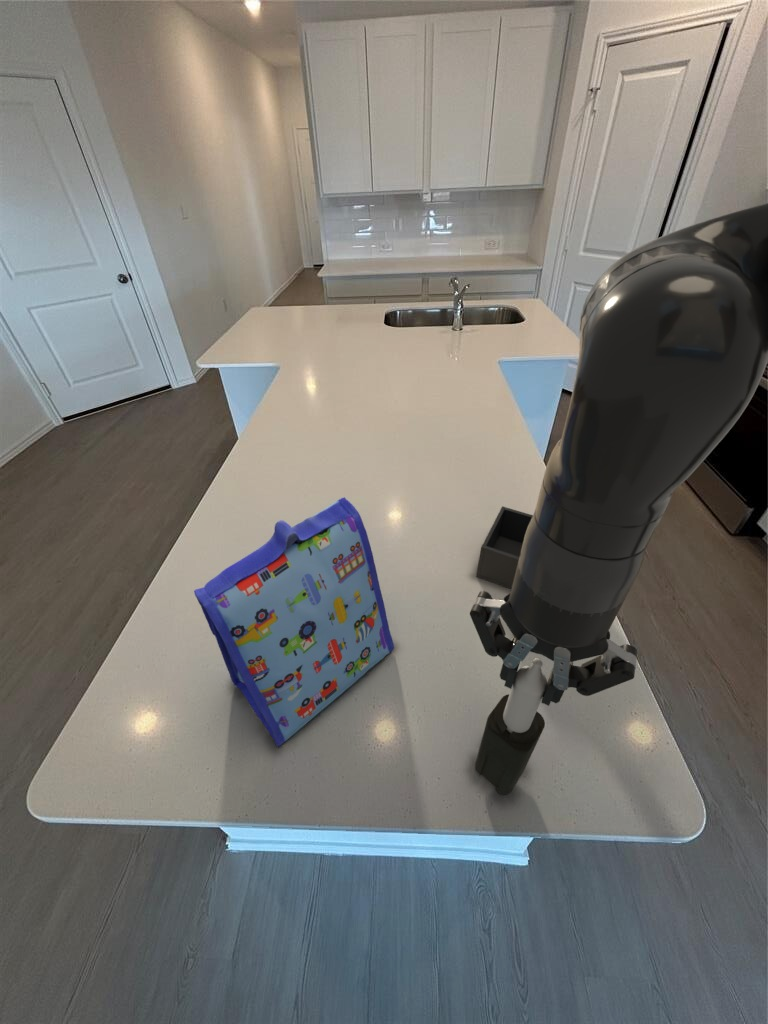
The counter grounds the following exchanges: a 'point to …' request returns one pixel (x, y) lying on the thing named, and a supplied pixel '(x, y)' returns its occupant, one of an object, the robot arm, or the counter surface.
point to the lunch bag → (300, 617)
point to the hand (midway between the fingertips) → (528, 687)
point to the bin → (503, 547)
